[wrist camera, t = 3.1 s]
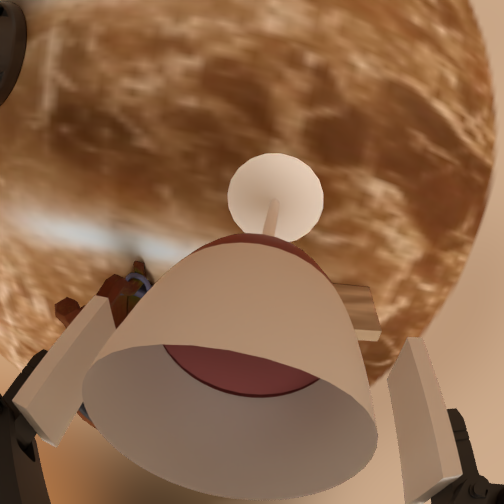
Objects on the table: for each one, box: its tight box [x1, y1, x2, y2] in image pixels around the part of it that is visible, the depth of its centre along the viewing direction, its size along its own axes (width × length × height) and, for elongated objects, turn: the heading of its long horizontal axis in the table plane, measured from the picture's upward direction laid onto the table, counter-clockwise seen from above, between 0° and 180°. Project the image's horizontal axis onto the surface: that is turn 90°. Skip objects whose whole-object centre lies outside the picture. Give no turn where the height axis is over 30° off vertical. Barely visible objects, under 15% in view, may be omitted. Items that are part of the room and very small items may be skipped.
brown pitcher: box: [55, 261, 153, 430], centre depth 29 cm, size 18×12×15 cm, turn 173°
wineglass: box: [82, 153, 378, 500], centre depth 18 cm, size 9×10×23 cm
